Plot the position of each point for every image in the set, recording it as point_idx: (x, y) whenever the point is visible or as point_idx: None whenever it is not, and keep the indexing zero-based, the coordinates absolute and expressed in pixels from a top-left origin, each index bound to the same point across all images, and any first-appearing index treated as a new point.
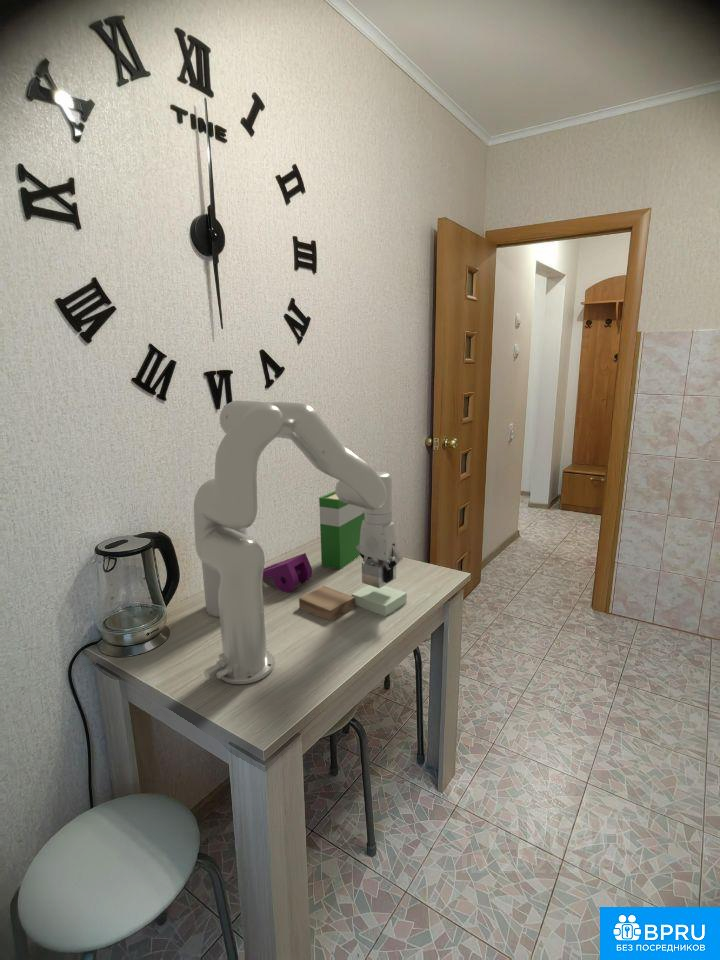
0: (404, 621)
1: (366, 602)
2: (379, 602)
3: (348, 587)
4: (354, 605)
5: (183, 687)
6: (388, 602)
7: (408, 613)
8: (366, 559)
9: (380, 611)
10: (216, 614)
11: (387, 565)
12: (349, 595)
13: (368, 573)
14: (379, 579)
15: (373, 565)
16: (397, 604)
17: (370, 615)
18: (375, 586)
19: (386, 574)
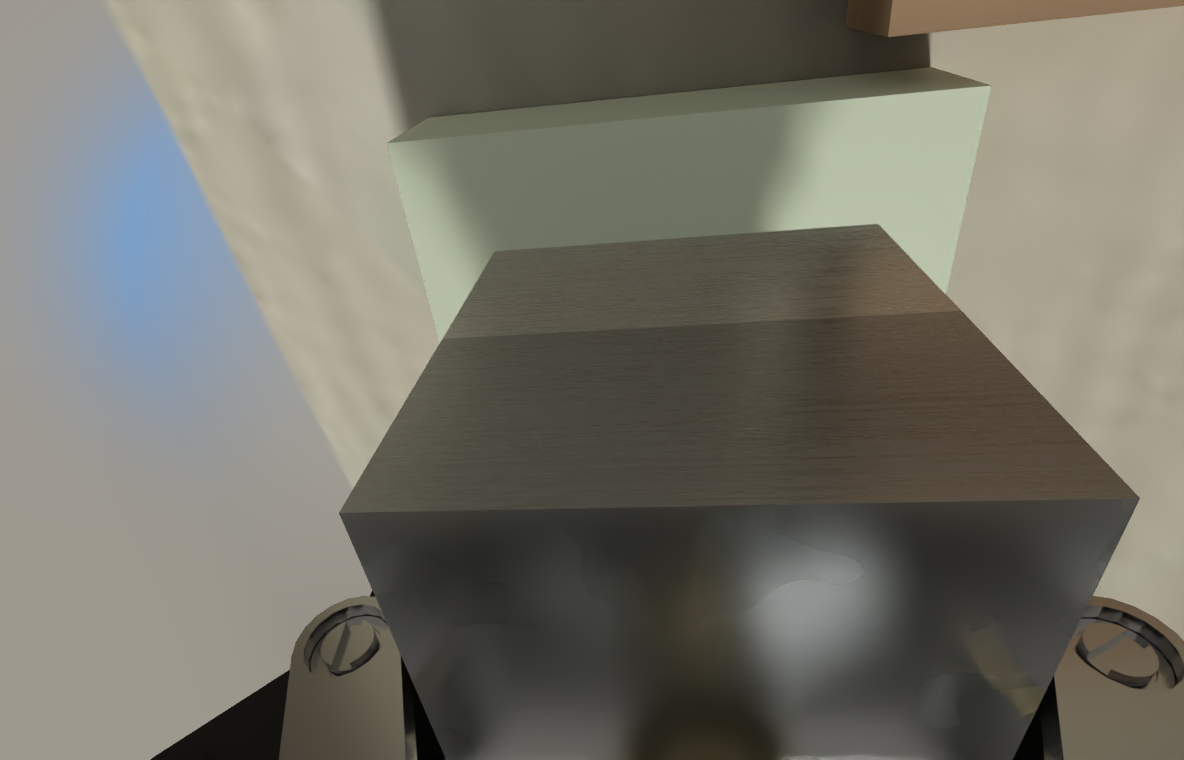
0: (243, 173)
1: (697, 105)
2: (510, 166)
3: (1172, 332)
4: (852, 19)
5: None
6: (438, 240)
7: (346, 309)
8: (1081, 707)
9: (486, 116)
10: None
11: (322, 699)
12: (996, 17)
13: (749, 339)
14: (456, 337)
15: (605, 547)
16: None
17: (557, 6)
18: (566, 249)
19: None
